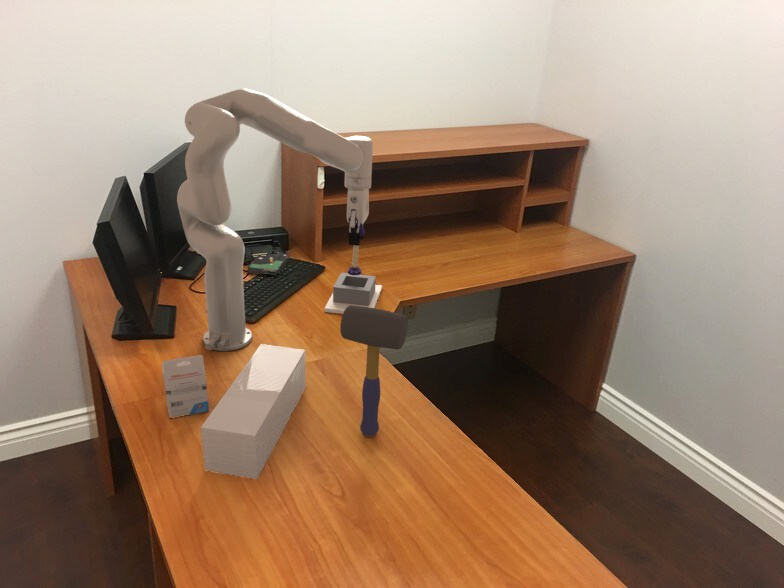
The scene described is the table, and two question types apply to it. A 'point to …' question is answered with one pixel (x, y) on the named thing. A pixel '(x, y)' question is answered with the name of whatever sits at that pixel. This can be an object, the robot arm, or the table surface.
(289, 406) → the long gray block
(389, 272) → the table surface
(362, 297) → the dock
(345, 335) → the rubber mallet
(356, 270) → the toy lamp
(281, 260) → the disk drive
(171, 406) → the ink box
